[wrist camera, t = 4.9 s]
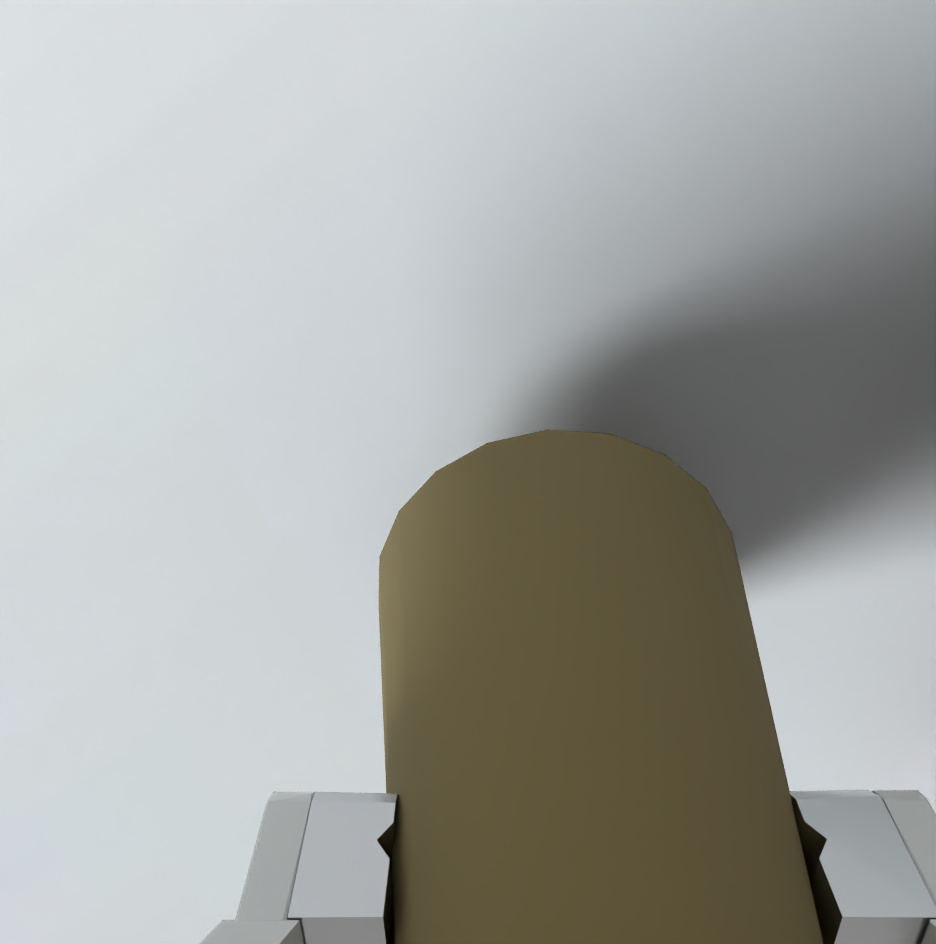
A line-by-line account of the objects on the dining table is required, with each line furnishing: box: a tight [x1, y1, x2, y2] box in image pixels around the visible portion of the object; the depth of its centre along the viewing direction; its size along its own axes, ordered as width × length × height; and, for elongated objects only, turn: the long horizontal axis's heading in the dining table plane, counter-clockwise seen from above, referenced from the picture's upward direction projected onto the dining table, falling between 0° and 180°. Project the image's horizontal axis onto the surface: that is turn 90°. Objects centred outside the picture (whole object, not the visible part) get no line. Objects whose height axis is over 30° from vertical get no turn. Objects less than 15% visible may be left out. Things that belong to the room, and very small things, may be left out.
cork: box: [379, 430, 823, 944], centre depth 10 cm, size 6×6×11 cm
